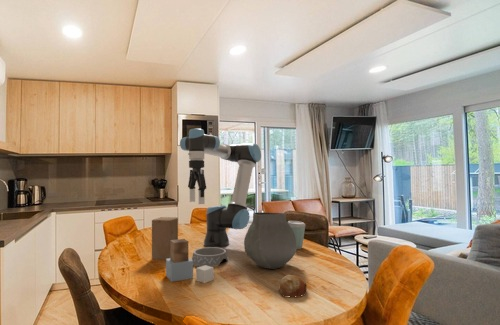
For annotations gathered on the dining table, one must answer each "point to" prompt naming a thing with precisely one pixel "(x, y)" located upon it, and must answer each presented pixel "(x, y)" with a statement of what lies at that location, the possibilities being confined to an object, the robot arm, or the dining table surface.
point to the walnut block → (179, 250)
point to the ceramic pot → (270, 240)
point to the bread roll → (292, 286)
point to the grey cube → (204, 273)
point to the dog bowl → (209, 256)
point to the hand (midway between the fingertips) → (196, 202)
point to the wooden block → (163, 236)
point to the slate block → (179, 270)
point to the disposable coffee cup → (298, 232)
